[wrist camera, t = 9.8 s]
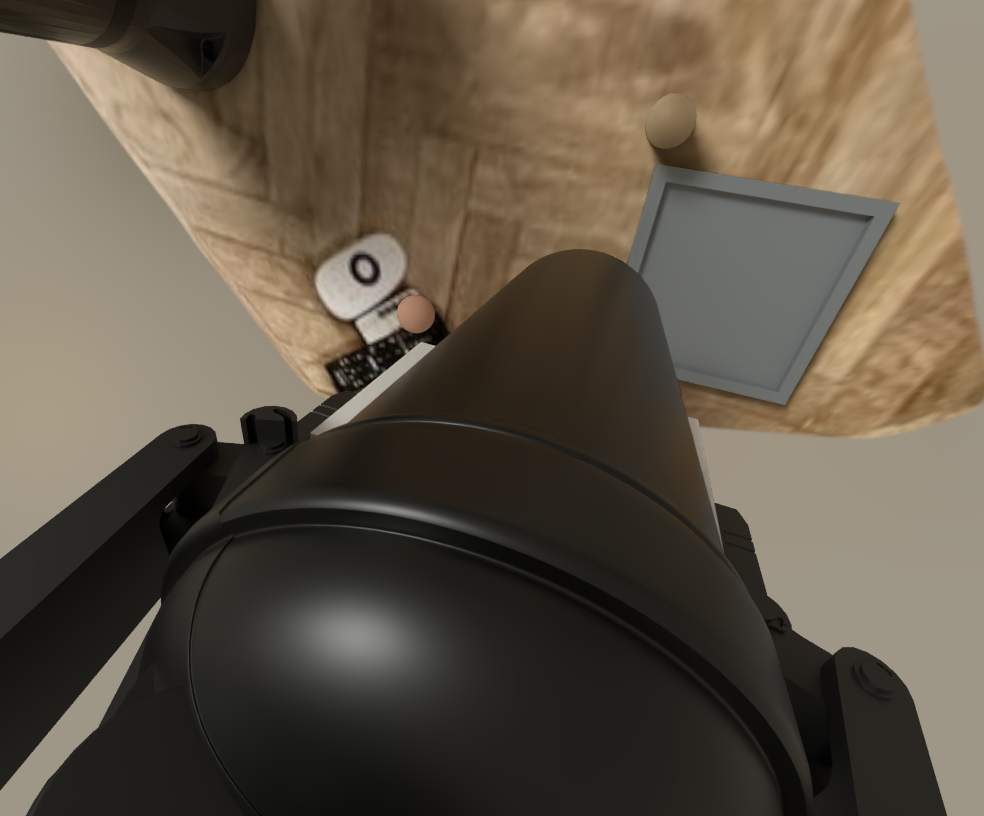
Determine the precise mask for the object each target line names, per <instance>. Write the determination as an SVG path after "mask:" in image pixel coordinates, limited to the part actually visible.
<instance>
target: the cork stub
mask: <svg viewBox="0 0 984 816" xmlns="http://www.w3.org/2000/svg"><path fill="white" fill-rule="evenodd" d="M695 123H696V108H695V105H694V103H693V102H692V100H691V99H690V98H689V97H688V96H686V95H684V94H680V93H672V94H668V95H666V96H664V97H662V98H661V99H659V100H658V101H657V102H656V103H655V104H654V105H653V107H652V108H651V110H650V112H649V114H648V117H647V121H646V126H645V131H646V136H647V139H648V140H649V142H650V143H651V144H652V145H653V146H655V147H657V148H662V149H669V148H674V147H676V146H678V145H680V144H682V143H683V142H684V141H685V140H686V139H687V138H688V137H689V136H690V134H691V133H692V131H693V129H694V126H695Z"/></svg>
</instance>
